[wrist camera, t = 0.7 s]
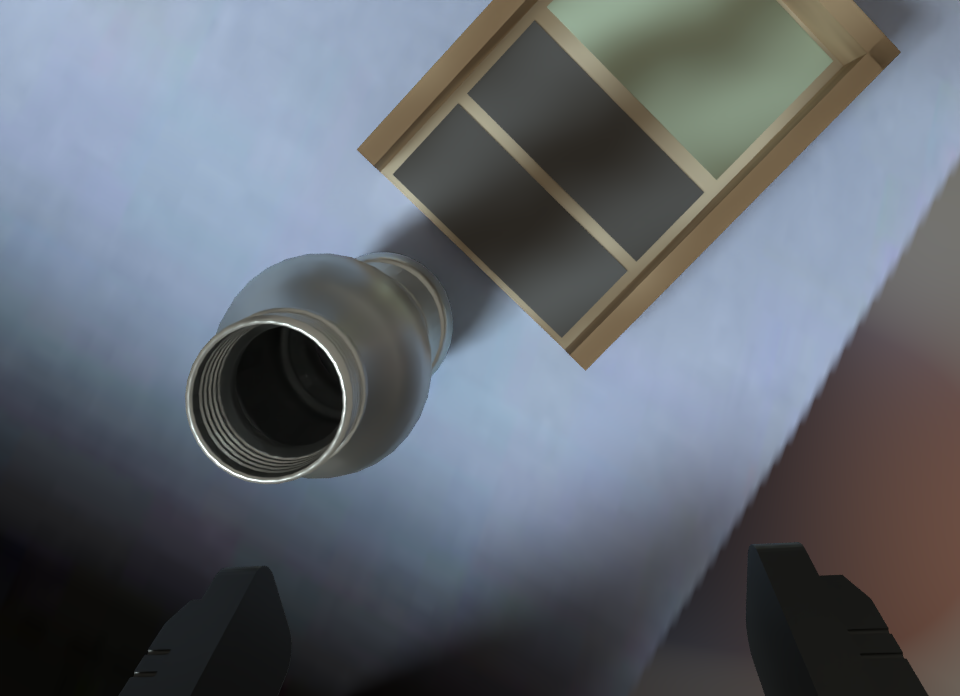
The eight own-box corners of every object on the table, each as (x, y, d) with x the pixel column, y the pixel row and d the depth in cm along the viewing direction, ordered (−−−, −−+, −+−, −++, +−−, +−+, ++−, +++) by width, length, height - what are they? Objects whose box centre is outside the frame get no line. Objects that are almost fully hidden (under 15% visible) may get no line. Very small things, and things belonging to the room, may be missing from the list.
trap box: (369, 160, 34) (356, 149, 30) (650, -146, 32) (670, -196, 29) (575, 359, 35) (585, 370, 32) (857, 73, 33) (900, 52, 30)
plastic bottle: (471, 273, 35) (455, 289, 15) (434, 402, 35) (372, 584, 16) (344, 236, 34) (155, 204, 15) (310, 368, 35) (87, 507, 15)
